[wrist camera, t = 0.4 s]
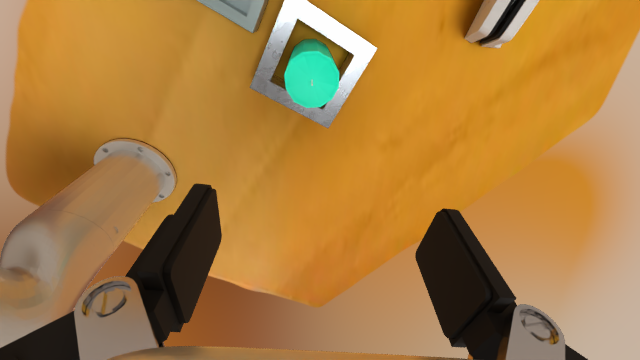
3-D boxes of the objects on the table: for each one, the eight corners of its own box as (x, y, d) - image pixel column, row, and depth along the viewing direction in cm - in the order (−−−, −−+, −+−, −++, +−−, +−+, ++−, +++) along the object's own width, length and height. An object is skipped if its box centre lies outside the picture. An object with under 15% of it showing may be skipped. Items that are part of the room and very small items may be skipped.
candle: (325, 31, 34) (332, 43, 24) (337, 77, 37) (347, 103, 28) (283, 46, 35) (273, 64, 25) (298, 90, 38) (294, 120, 28)
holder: (326, 118, 41) (328, 128, 38) (254, 80, 37) (249, 87, 34) (370, 44, 35) (377, 48, 32) (291, -10, 32) (289, -12, 28)
